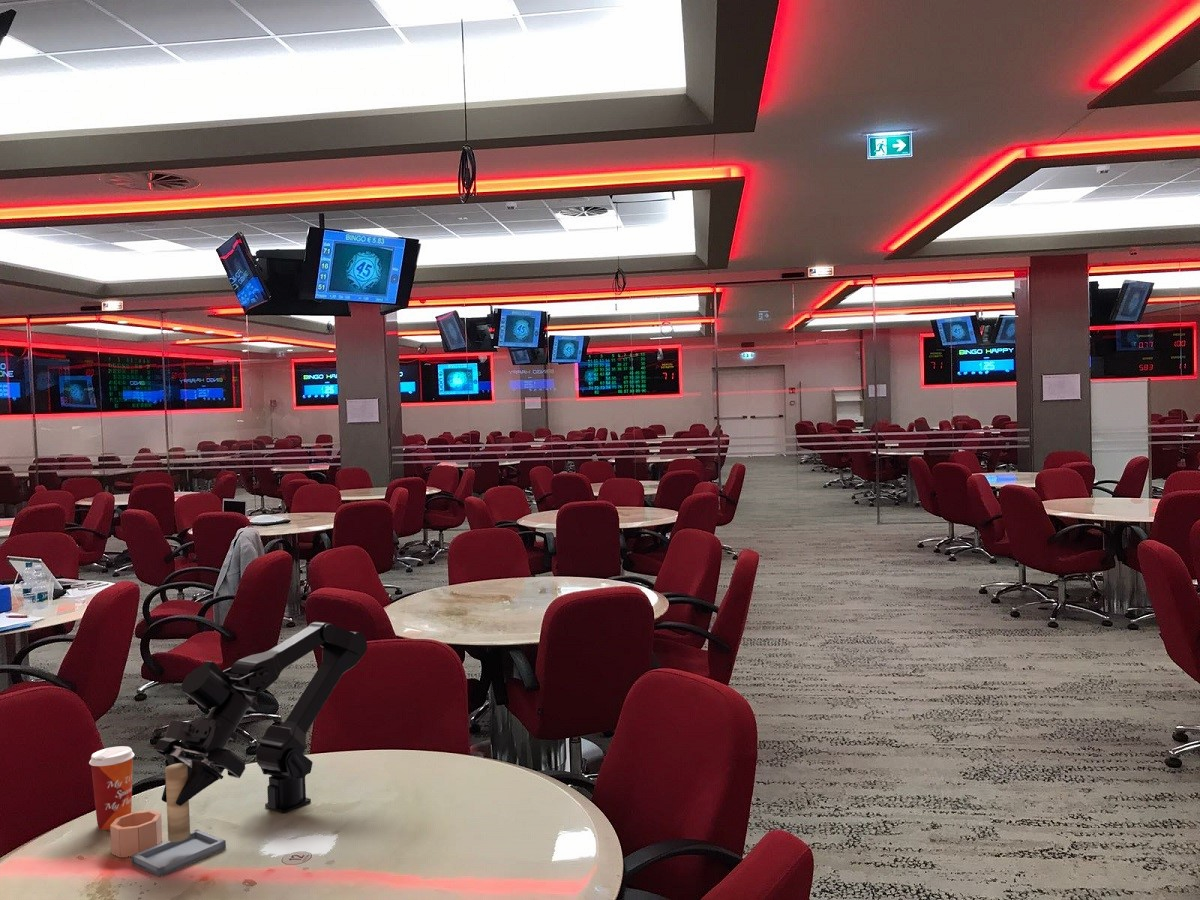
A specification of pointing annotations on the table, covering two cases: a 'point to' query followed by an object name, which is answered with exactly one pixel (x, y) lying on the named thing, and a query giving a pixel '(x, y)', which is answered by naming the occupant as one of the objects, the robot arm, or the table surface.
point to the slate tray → (178, 853)
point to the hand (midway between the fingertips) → (170, 803)
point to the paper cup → (112, 783)
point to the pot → (135, 833)
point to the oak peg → (176, 814)
